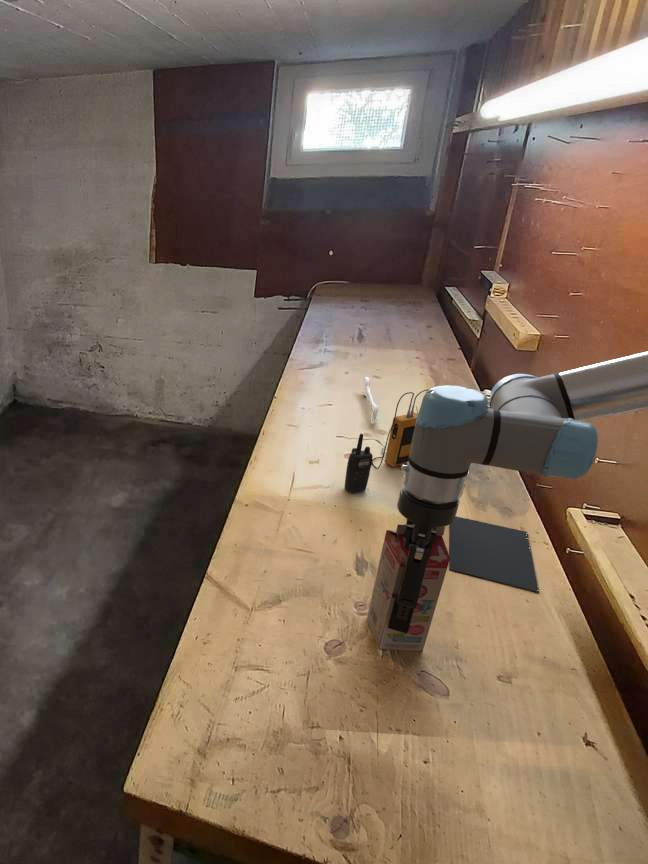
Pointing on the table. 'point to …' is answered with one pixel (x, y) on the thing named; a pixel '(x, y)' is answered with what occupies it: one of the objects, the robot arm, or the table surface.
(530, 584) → the edge mat
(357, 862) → the table surface
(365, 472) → the two-way radio
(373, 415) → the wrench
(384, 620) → the juice carton
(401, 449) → the multimeter
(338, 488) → the table surface
